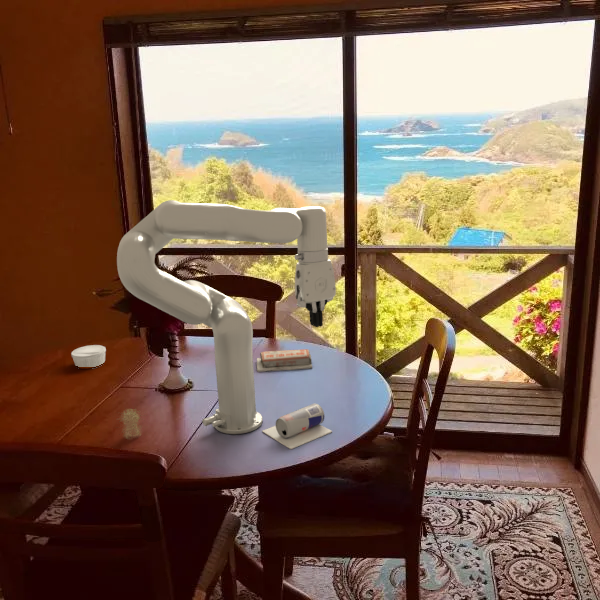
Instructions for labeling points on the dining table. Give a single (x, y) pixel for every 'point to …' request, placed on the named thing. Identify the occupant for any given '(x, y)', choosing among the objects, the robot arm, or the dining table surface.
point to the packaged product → (284, 360)
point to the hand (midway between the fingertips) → (316, 325)
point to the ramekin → (89, 356)
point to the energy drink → (299, 420)
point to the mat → (298, 436)
